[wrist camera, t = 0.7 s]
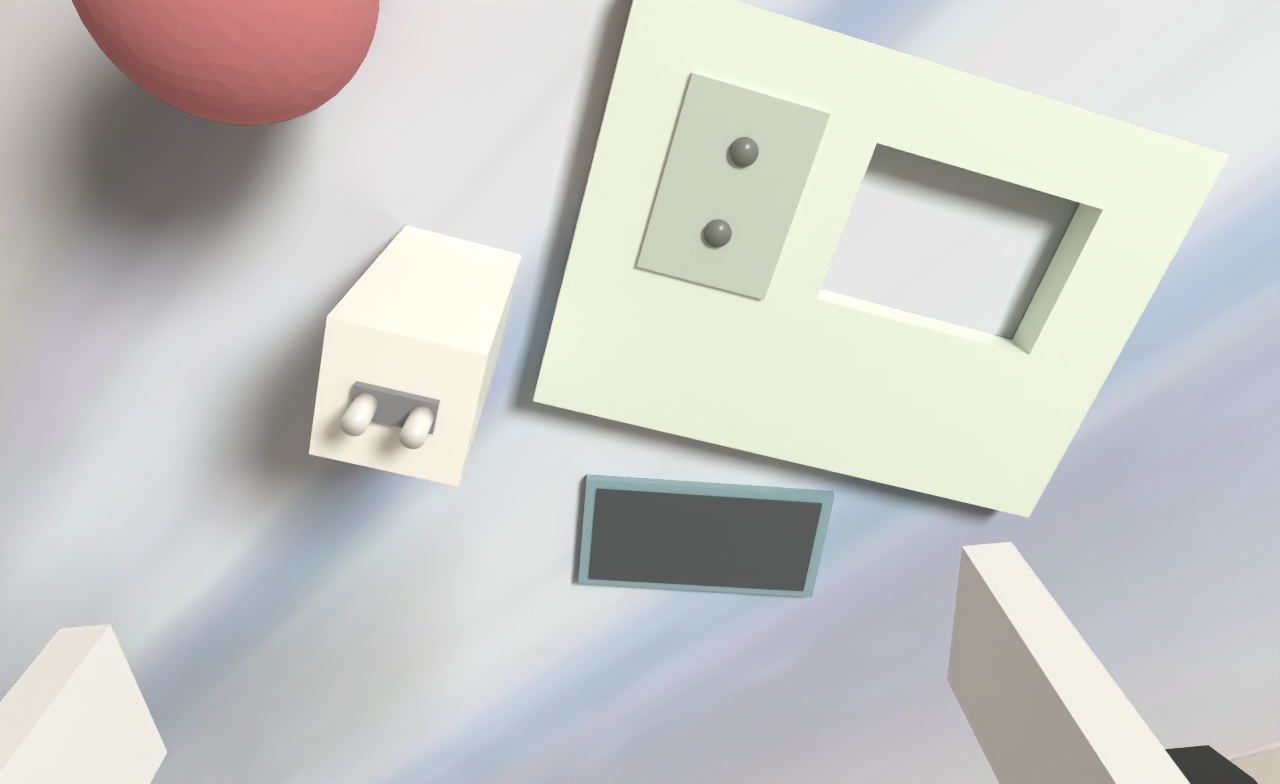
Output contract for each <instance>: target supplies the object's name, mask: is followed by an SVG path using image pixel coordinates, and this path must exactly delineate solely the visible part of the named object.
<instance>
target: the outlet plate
mask: <svg viewBox="0 0 1280 784" xmlns="http://www.w3.org/2000/svg"><path fill="white" fill-rule="evenodd" d="M877 143H879V144H882V145H885V146H889V147H892V148H896V149H899V150H902V151H906V152H909V153H913V154H916V155H919V156H923V157H926V158H930V159H933V160H936V161H940V162H943V163H947V164H950V165H953V166H957V167H960V168H964V169H967V170H970V171H974V172H977V173H981V174H984V175H987V176H991V177H994V178H998V179H1001V180H1004V181H1008V182H1011V183H1015V184H1018V185H1021V186H1025V187H1028V188H1031V189H1035V190H1038V191H1042V192H1045V193H1048V194H1052V195H1055V196H1059V197H1062V198H1065V199H1069V200H1072V201H1076V202H1079V203H1080V204H1079V206H1078V208H1077V210H1076V212H1075V214H1074V216H1073V218H1072V220H1071V222H1070V224H1069V226H1068V228H1067V230H1066V232H1065V234H1064V236H1063V238H1062V240H1061V242H1060V244H1059V246H1058V248H1057V251H1056V253H1055V255H1054V257H1053V259H1052V261H1051V263H1050V265H1049V267H1048V269H1047V271H1046V273H1045V275H1044V277H1043V279H1042V281H1041V283H1040V285H1039V287H1038V289H1037V291H1036V293H1035V295H1034V297H1033V299H1032V301H1031V303H1030V305H1029V307H1028V309H1027V311H1026V313H1025V315H1024V317H1023V319H1022V321H1021V323H1020V325H1019V327H1018V329H1017V331H1016V333H1015V335H1014V337H1013V339H1012V340H1011V339H1007V338H1003V337H999V336H996V335H992V334H988V333H984V332H981V331H977V330H973V329H969V328H966V327H962V326H958V325H954V324H951V323H947V322H943V321H939V320H936V319H932V318H928V317H924V316H920V315H917V314H913V313H909V312H905V311H902V310H898V309H894V308H890V307H887V306H883V305H879V304H875V303H872V302H868V301H864V300H860V299H857V298H853V297H849V296H845V295H841V294H838V293H834V292H830V291H826V290H823V289H821V287H822V285H823V282H824V280H825V277H826V274H827V272H828V269H829V267H830V264H831V261H832V259H833V256H834V254H835V251H836V248H837V246H838V243H839V240H840V238H841V235H842V233H843V230H844V227H845V225H846V222H847V220H848V217H849V214H850V212H851V209H852V207H853V204H854V201H855V199H856V196H857V194H858V191H859V188H860V186H861V183H862V181H863V178H864V175H865V173H866V170H867V168H868V165H869V162H870V160H871V157H872V155H873V152H874V149H875V147H876V144H877ZM1229 156H1230V155H1229V154H1226V153H1223V152H1220V151H1216V150H1213V149H1210V148H1207V147H1203V146H1200V145H1197V144H1194V143H1191V142H1187V141H1184V140H1181V139H1178V138H1175V137H1171V136H1168V135H1165V134H1162V133H1159V132H1155V131H1152V130H1149V129H1146V128H1143V127H1139V126H1136V125H1133V124H1130V123H1126V122H1123V121H1120V120H1117V119H1114V118H1110V117H1107V116H1104V115H1101V114H1098V113H1094V112H1091V111H1088V110H1085V109H1082V108H1078V107H1075V106H1072V105H1069V104H1066V103H1062V102H1059V101H1056V100H1053V99H1049V98H1046V97H1043V96H1040V95H1037V94H1033V93H1030V92H1027V91H1024V90H1021V89H1017V88H1014V87H1011V86H1008V85H1005V84H1001V83H998V82H995V81H992V80H989V79H985V78H982V77H979V76H976V75H972V74H969V73H966V72H963V71H960V70H956V69H953V68H950V67H947V66H944V65H940V64H937V63H934V62H931V61H928V60H924V59H921V58H918V57H915V56H912V55H908V54H905V53H902V52H899V51H895V50H892V49H889V48H886V47H883V46H879V45H876V44H873V43H870V42H867V41H863V40H860V39H857V38H854V37H851V36H847V35H844V34H841V33H838V32H834V31H831V30H828V29H825V28H822V27H818V26H815V25H812V24H809V23H806V22H802V21H799V20H796V19H793V18H790V17H786V16H783V15H780V14H777V13H774V12H770V11H767V10H764V9H761V8H757V7H754V6H751V5H748V4H745V3H741V2H738V1H735V0H632V4H631V8H630V12H629V16H628V20H627V24H626V28H625V32H624V36H623V40H622V44H621V48H620V52H619V56H618V60H617V64H616V68H615V72H614V76H613V80H612V83H611V87H610V91H609V95H608V99H607V103H606V107H605V111H604V115H603V119H602V123H601V127H600V131H599V135H598V139H597V143H596V147H595V151H594V155H593V159H592V163H591V167H590V171H589V175H588V179H587V183H586V187H585V191H584V195H583V199H582V203H581V207H580V211H579V215H578V219H577V223H576V227H575V231H574V235H573V239H572V243H571V247H570V251H569V255H568V259H567V263H566V267H565V271H564V275H563V279H562V283H561V287H560V291H559V295H558V299H557V303H556V307H555V311H554V315H553V319H552V323H551V327H550V331H549V335H548V339H547V343H546V347H545V351H544V355H543V359H542V363H541V367H540V371H539V375H538V379H537V383H536V388H535V393H534V398H533V401H534V402H538V403H543V404H547V405H551V406H555V407H560V408H564V409H568V410H572V411H577V412H581V413H585V414H590V415H594V416H598V417H602V418H607V419H611V420H615V421H619V422H624V423H628V424H632V425H636V426H641V427H645V428H649V429H654V430H658V431H662V432H666V433H671V434H675V435H679V436H683V437H688V438H692V439H696V440H700V441H705V442H709V443H713V444H717V445H722V446H726V447H730V448H735V449H739V450H743V451H747V452H752V453H756V454H760V455H764V456H769V457H773V458H777V459H781V460H786V461H790V462H794V463H798V464H803V465H807V466H811V467H816V468H820V469H824V470H828V471H833V472H837V473H841V474H845V475H850V476H854V477H858V478H862V479H867V480H871V481H875V482H880V483H884V484H888V485H892V486H897V487H901V488H905V489H909V490H914V491H918V492H922V493H926V494H931V495H935V496H939V497H943V498H948V499H952V500H956V501H961V502H965V503H969V504H973V505H978V506H982V507H986V508H990V509H995V510H999V511H1003V512H1007V513H1012V514H1016V515H1020V516H1025V517H1029V516H1030V514H1031V512H1032V511H1033V509H1034V507H1035V505H1036V503H1037V502H1038V500H1039V498H1040V496H1041V494H1042V493H1043V491H1044V489H1045V487H1046V485H1047V484H1048V482H1049V480H1050V478H1051V476H1052V475H1053V473H1054V471H1055V469H1056V467H1057V466H1058V464H1059V462H1060V460H1061V458H1062V457H1063V455H1064V453H1065V451H1066V449H1067V448H1068V446H1069V444H1070V442H1071V440H1072V439H1073V437H1074V435H1075V433H1076V431H1077V430H1078V428H1079V426H1080V424H1081V422H1082V421H1083V419H1084V417H1085V415H1086V413H1087V412H1088V410H1089V408H1090V406H1091V404H1092V403H1093V401H1094V399H1095V397H1096V395H1097V394H1098V392H1099V390H1100V388H1101V386H1102V385H1103V383H1104V381H1105V379H1106V377H1107V376H1108V374H1109V372H1110V370H1111V368H1112V367H1113V365H1114V363H1115V361H1116V360H1117V358H1118V356H1119V354H1120V352H1121V351H1122V349H1123V347H1124V345H1125V343H1126V342H1127V340H1128V338H1129V336H1130V334H1131V333H1132V331H1133V329H1134V327H1135V325H1136V324H1137V322H1138V320H1139V318H1140V316H1141V315H1142V313H1143V311H1144V309H1145V307H1146V306H1147V304H1148V302H1149V300H1150V298H1151V297H1152V295H1153V293H1154V291H1155V289H1156V288H1157V286H1158V284H1159V282H1160V280H1161V279H1162V277H1163V275H1164V273H1165V271H1166V270H1167V268H1168V266H1169V264H1170V262H1171V261H1172V259H1173V257H1174V255H1175V253H1176V252H1177V250H1178V248H1179V246H1180V244H1181V243H1182V241H1183V239H1184V237H1185V235H1186V234H1187V232H1188V230H1189V228H1190V226H1191V225H1192V223H1193V221H1194V219H1195V217H1196V216H1197V214H1198V212H1199V210H1200V208H1201V207H1202V205H1203V203H1204V201H1205V199H1206V198H1207V196H1208V194H1209V192H1210V190H1211V189H1212V187H1213V185H1214V183H1215V181H1216V180H1217V178H1218V176H1219V174H1220V172H1221V171H1222V169H1223V167H1224V165H1225V163H1226V162H1227V160H1228V158H1229Z"/></svg>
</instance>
